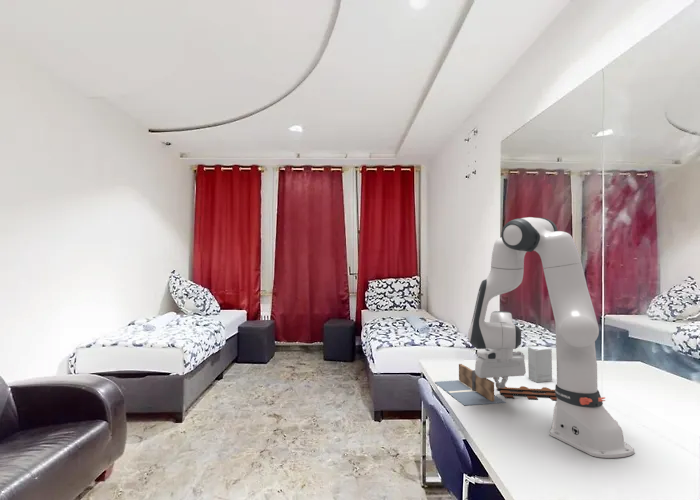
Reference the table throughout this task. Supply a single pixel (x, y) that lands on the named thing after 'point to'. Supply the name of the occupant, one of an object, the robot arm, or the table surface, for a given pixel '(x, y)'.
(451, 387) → the card
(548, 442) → the table surface
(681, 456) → the table surface
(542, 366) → the skincare box
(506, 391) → the decorative fence
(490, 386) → the swing panel
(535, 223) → the robot arm
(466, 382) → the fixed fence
